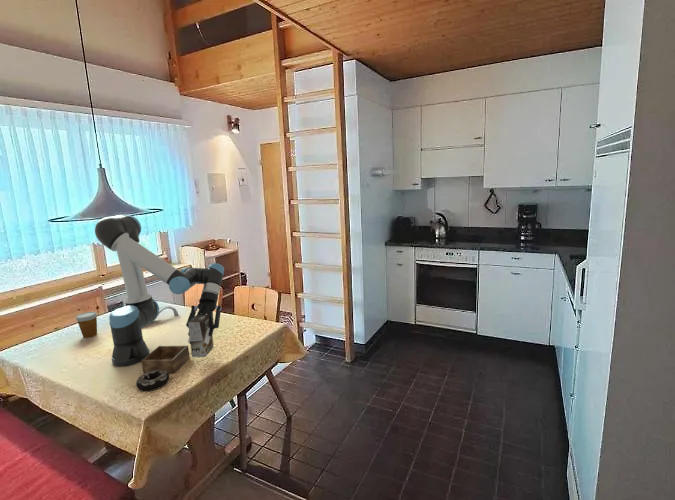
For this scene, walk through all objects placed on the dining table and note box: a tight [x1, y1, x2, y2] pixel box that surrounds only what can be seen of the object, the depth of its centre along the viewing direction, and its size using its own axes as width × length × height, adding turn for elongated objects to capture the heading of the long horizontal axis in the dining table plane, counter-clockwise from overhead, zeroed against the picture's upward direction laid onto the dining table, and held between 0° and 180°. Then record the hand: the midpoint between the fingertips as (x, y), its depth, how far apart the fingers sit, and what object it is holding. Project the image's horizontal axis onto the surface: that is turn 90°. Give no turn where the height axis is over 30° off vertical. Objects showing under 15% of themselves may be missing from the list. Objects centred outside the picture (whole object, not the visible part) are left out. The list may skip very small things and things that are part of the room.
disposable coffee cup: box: [75, 311, 98, 339], centre depth 195 cm, size 10×10×12 cm
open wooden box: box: [141, 345, 191, 375], centre depth 159 cm, size 14×14×6 cm
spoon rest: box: [147, 305, 179, 326], centre depth 214 cm, size 24×12×7 cm, turn 137°
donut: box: [135, 370, 170, 392], centre depth 144 cm, size 12×12×4 cm
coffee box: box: [187, 314, 215, 358], centre depth 159 cm, size 9×6×16 cm
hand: (198, 343), depth 156 cm, fingers closed on coffee box, 6 cm apart
